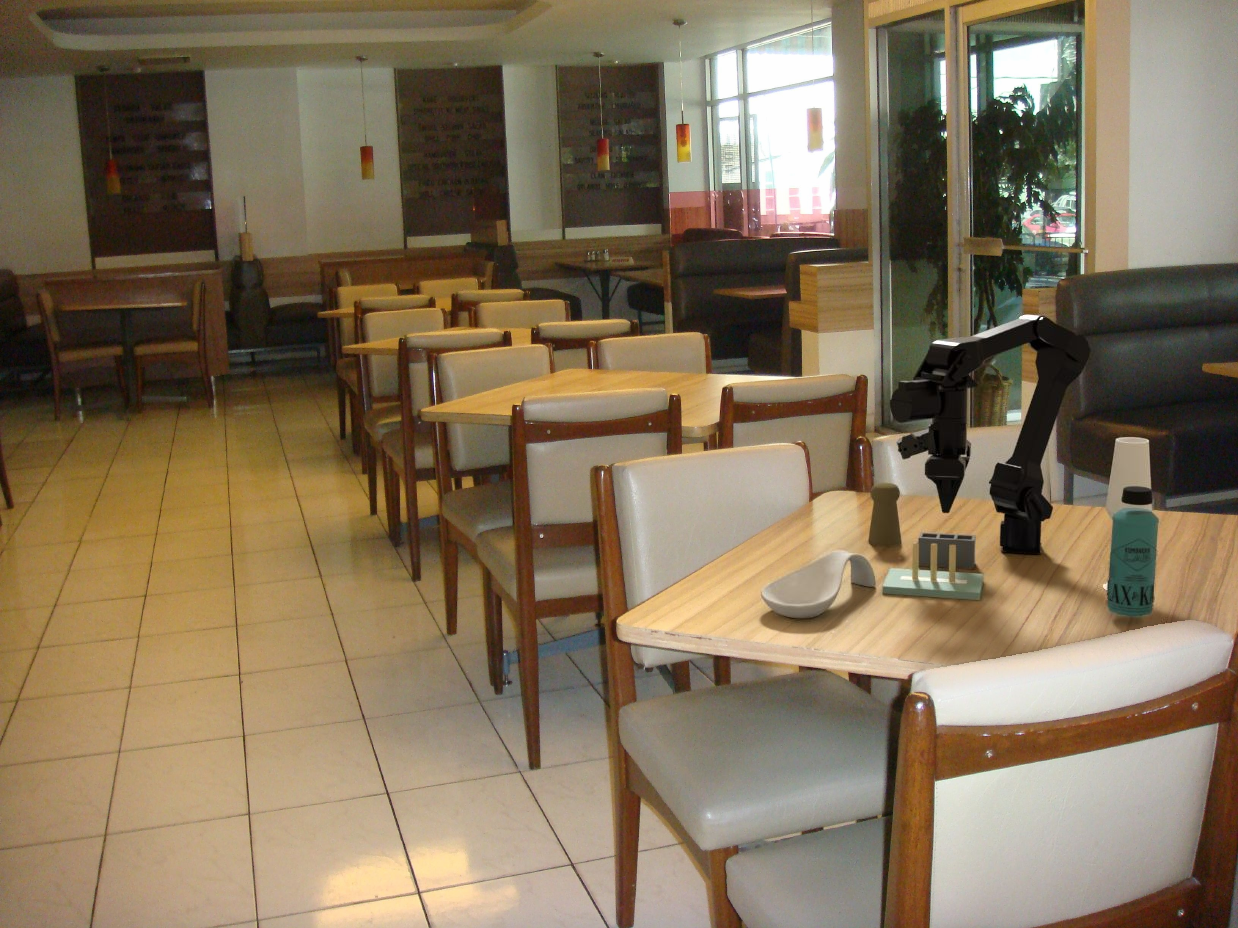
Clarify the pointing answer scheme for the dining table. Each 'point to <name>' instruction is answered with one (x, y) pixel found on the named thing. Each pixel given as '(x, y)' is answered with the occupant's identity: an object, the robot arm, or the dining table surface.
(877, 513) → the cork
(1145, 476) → the white vase
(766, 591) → the spoon rest
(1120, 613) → the beverage bottle
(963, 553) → the plug housing
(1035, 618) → the dining table surface
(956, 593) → the header board
